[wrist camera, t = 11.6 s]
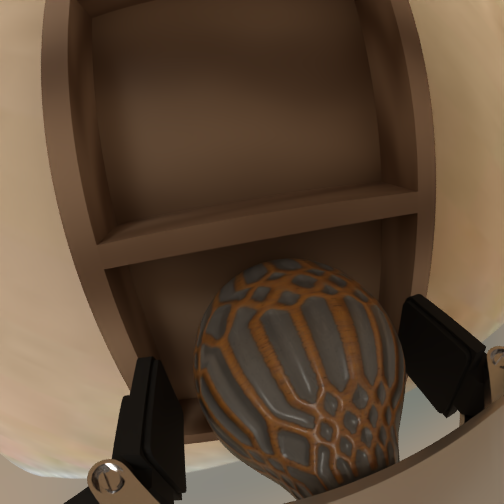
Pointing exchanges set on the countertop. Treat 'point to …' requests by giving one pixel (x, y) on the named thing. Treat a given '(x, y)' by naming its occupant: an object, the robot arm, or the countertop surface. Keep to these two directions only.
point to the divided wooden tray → (233, 157)
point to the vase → (301, 375)
